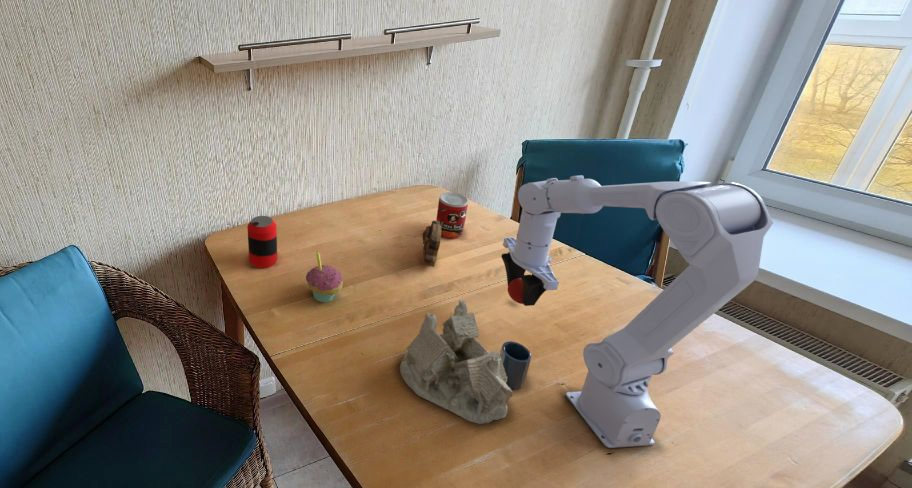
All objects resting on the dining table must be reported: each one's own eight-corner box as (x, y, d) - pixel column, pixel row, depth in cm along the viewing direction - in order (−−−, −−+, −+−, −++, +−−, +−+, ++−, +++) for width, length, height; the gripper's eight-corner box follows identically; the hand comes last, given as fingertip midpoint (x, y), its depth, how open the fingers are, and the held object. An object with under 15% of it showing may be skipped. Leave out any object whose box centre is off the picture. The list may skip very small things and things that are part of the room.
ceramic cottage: (391, 353, 84) (403, 295, 78) (470, 347, 86) (487, 291, 80) (424, 433, 70) (441, 371, 64) (517, 425, 72) (543, 364, 66)
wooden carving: (417, 240, 121) (421, 209, 118) (434, 242, 120) (438, 211, 117) (421, 276, 106) (425, 242, 103) (440, 278, 105) (445, 244, 102)
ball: (538, 308, 85) (543, 288, 84) (514, 310, 85) (519, 289, 83) (523, 292, 90) (528, 272, 88) (500, 293, 90) (504, 273, 88)
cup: (529, 388, 77) (537, 361, 74) (505, 389, 77) (511, 362, 74) (514, 366, 81) (521, 340, 79) (491, 368, 81) (497, 342, 79)
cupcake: (300, 300, 99) (300, 257, 95) (314, 279, 106) (315, 238, 102) (335, 312, 95) (337, 268, 91) (347, 289, 102) (349, 247, 98)
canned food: (435, 237, 122) (440, 203, 118) (434, 223, 130) (438, 190, 126) (464, 241, 120) (470, 206, 116) (461, 226, 127) (466, 193, 123)
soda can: (243, 258, 115) (241, 220, 111) (266, 248, 119) (264, 211, 115) (260, 272, 109) (258, 232, 105) (282, 261, 114) (282, 222, 109)
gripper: (581, 260, 76) (564, 320, 80) (530, 218, 89) (519, 272, 94) (542, 262, 75) (527, 322, 80) (498, 220, 89) (487, 273, 94)
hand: (520, 295), depth 87 cm, fingers closed on ball, 5 cm apart
